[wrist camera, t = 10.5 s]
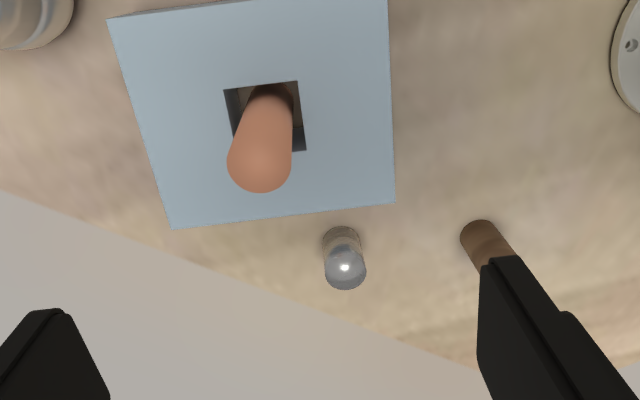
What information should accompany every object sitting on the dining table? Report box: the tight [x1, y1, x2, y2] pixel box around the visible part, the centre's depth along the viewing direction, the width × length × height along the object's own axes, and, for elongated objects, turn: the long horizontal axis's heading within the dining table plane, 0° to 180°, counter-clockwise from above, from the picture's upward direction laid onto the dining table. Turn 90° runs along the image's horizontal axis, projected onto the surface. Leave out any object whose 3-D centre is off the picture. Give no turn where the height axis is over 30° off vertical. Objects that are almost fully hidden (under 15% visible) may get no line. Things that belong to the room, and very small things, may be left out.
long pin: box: [227, 82, 293, 193], centre depth 27 cm, size 3×3×12 cm
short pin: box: [322, 226, 366, 290], centre depth 37 cm, size 3×3×4 cm
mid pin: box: [460, 220, 517, 274], centre depth 36 cm, size 3×3×6 cm
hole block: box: [105, 0, 396, 230], centre depth 31 cm, size 16×14×5 cm
